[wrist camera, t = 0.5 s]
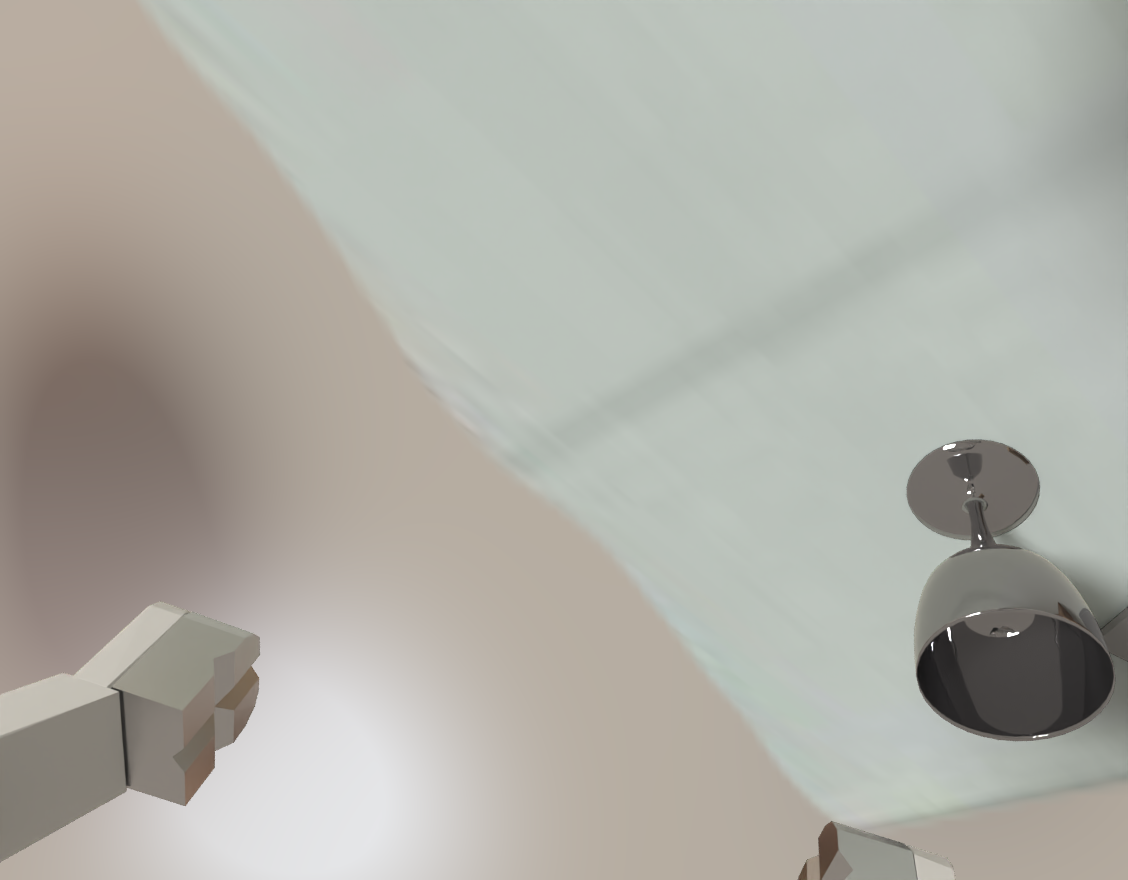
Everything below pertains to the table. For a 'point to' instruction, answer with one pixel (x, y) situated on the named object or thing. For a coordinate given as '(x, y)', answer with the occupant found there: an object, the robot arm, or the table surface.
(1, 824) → the robot arm
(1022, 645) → the wine glass
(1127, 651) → the mat
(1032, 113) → the table surface
